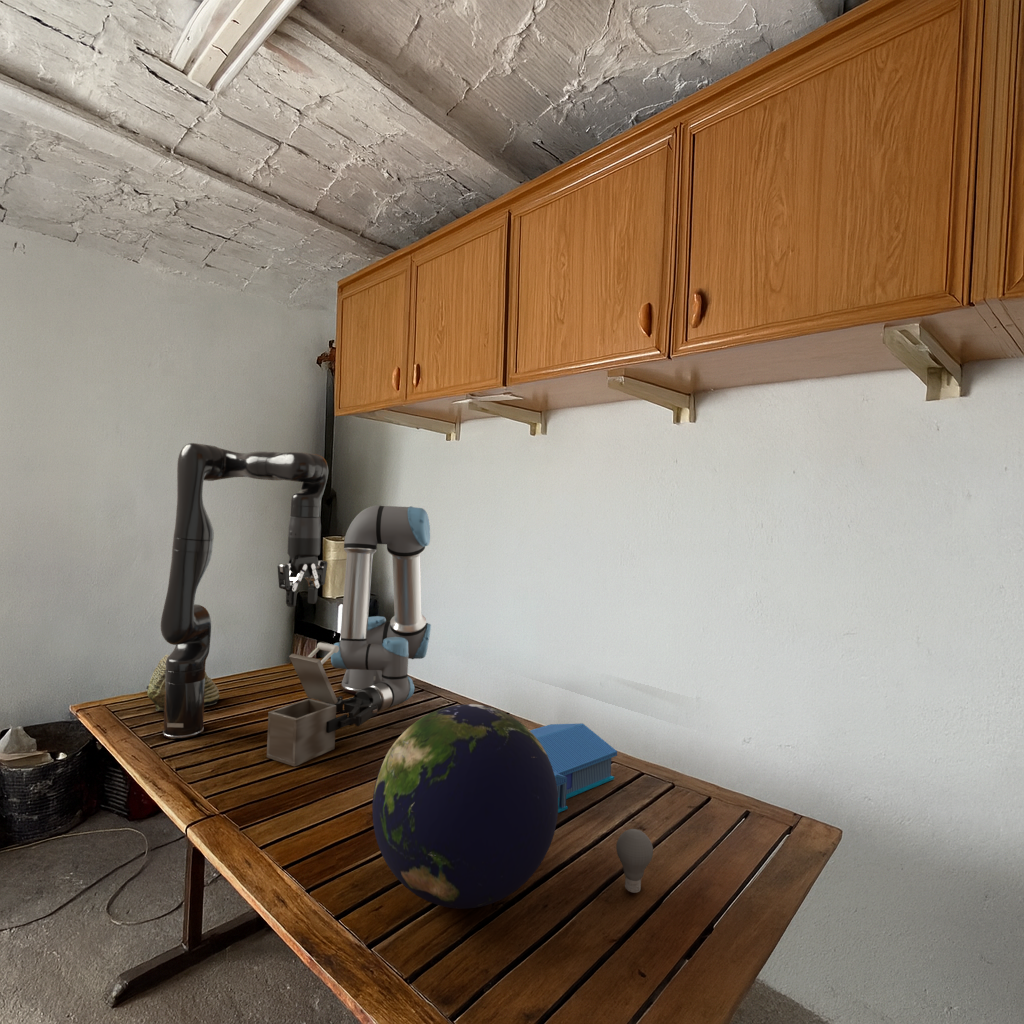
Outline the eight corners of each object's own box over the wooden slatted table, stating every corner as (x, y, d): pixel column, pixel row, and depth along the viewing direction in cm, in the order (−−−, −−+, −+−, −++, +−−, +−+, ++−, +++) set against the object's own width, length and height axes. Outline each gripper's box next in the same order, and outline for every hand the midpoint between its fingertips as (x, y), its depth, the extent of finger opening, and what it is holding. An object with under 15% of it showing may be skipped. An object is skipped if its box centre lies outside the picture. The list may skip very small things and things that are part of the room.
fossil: (144, 707, 182) (145, 655, 182) (212, 696, 194) (213, 647, 194) (151, 716, 175) (153, 662, 175) (221, 703, 188) (223, 653, 188)
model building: (497, 839, 120) (500, 786, 120) (424, 791, 138) (425, 745, 138) (625, 783, 146) (627, 740, 146) (549, 749, 164) (551, 711, 164)
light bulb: (610, 879, 108) (613, 822, 108) (644, 879, 109) (647, 822, 109) (619, 902, 102) (622, 840, 102) (655, 901, 103) (658, 840, 103)
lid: (316, 662, 152) (340, 638, 159) (288, 656, 157) (312, 633, 163) (335, 704, 158) (357, 680, 165) (307, 697, 163) (330, 673, 170)
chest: (294, 766, 148) (296, 719, 147) (266, 757, 152) (268, 711, 152) (334, 748, 159) (336, 705, 159) (307, 740, 164) (309, 698, 163)
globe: (328, 919, 95) (336, 721, 95) (427, 827, 123) (434, 674, 122) (512, 985, 84) (522, 760, 83) (576, 867, 112) (584, 698, 111)
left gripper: (292, 537, 145) (289, 610, 145) (337, 535, 158) (334, 603, 158) (269, 535, 148) (266, 607, 149) (315, 533, 161) (312, 599, 161)
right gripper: (403, 721, 173) (345, 747, 153) (342, 705, 183) (280, 728, 164) (404, 693, 173) (346, 717, 153) (343, 679, 183) (281, 699, 164)
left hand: (301, 604), depth 153 cm, fingers open, 6 cm apart
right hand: (312, 723), depth 158 cm, fingers closed on chest, 9 cm apart
